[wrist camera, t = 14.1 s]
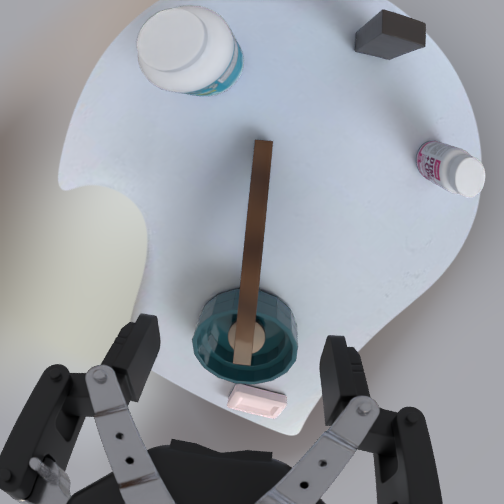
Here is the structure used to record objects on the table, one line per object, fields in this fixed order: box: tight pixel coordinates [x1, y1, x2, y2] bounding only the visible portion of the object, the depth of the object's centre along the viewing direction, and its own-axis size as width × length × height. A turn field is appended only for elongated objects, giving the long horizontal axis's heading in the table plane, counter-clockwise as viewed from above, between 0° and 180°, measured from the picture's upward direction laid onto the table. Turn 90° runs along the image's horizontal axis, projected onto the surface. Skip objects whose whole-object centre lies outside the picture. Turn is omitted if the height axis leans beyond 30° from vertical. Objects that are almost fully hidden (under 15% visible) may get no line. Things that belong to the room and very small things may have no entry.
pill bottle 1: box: [137, 5, 244, 97], centre depth 21 cm, size 8×7×14 cm
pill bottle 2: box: [417, 141, 485, 198], centre depth 26 cm, size 5×5×8 cm
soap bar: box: [227, 384, 287, 419], centre depth 47 cm, size 5×9×2 cm, turn 70°
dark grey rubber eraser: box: [355, 10, 426, 60], centre depth 21 cm, size 2×4×9 cm, turn 86°
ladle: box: [228, 140, 273, 366], centre depth 35 cm, size 24×5×11 cm, turn 176°
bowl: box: [192, 289, 298, 384], centre depth 39 cm, size 13×13×5 cm
